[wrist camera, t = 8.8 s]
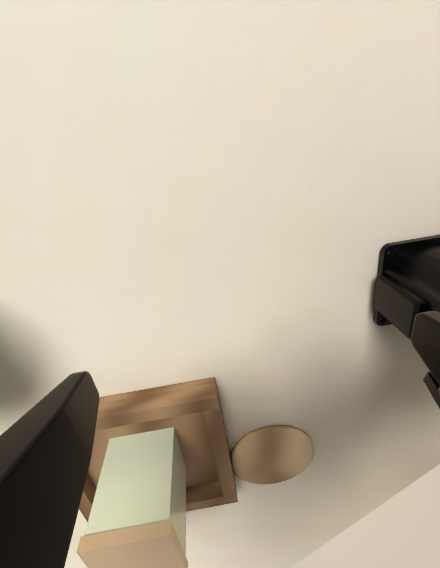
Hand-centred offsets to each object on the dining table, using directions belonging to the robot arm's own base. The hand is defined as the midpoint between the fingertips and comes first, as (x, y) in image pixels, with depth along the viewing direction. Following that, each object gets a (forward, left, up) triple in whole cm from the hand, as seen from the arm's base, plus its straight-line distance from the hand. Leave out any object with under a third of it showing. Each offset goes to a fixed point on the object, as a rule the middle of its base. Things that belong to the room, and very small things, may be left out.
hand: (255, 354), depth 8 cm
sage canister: (+9, +19, -11) cm, 24 cm away
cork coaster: (-2, +23, -12) cm, 26 cm away
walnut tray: (+9, +19, -12) cm, 24 cm away
